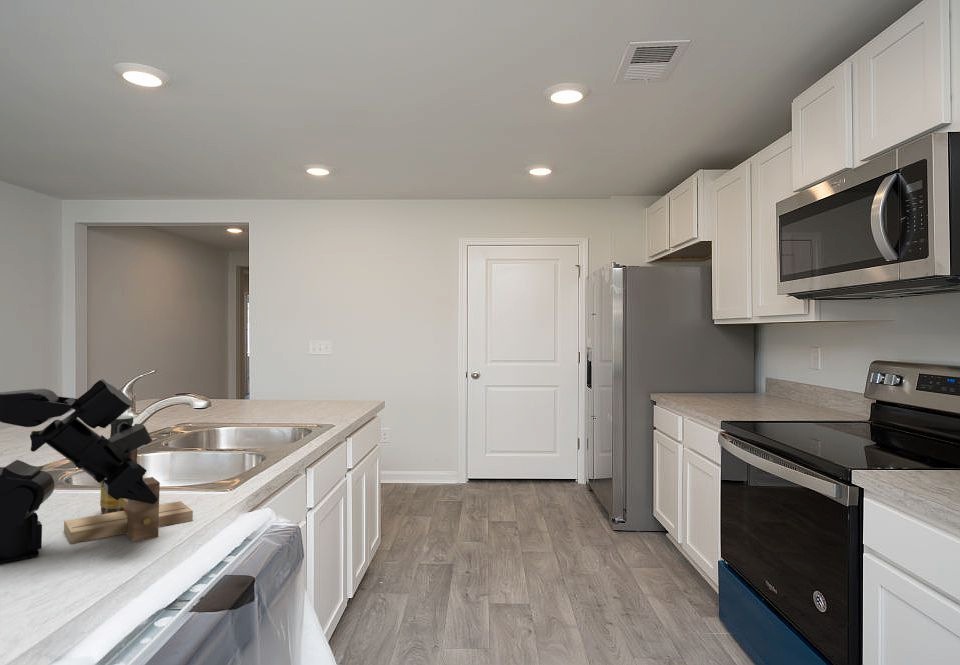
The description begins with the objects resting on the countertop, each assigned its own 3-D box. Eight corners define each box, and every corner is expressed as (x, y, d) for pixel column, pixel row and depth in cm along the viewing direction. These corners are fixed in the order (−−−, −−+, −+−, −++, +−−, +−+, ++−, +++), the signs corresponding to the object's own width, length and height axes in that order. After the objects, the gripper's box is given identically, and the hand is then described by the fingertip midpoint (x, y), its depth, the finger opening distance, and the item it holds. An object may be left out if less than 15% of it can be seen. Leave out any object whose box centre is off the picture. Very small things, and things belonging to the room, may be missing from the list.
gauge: (134, 542, 102) (135, 486, 102) (115, 520, 113) (117, 470, 113) (159, 537, 105) (160, 483, 105) (138, 516, 116) (140, 467, 116)
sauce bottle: (93, 513, 117) (95, 416, 116) (125, 505, 122) (126, 412, 122) (111, 519, 114) (113, 420, 113) (142, 510, 119) (144, 416, 119)
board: (70, 543, 101) (70, 532, 101) (63, 531, 106) (64, 520, 106) (192, 520, 114) (192, 510, 114) (180, 510, 120) (180, 500, 120)
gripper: (133, 417, 96) (201, 473, 104) (110, 405, 110) (171, 455, 117) (75, 471, 91) (151, 525, 98) (58, 451, 104) (126, 500, 112)
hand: (152, 498), depth 106 cm, fingers closed on gauge, 5 cm apart
